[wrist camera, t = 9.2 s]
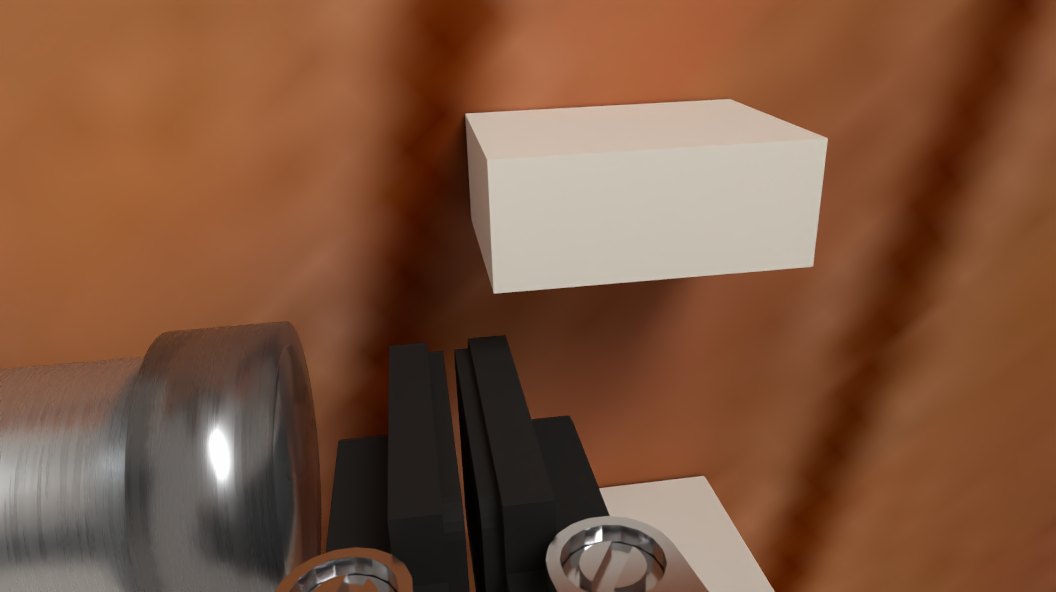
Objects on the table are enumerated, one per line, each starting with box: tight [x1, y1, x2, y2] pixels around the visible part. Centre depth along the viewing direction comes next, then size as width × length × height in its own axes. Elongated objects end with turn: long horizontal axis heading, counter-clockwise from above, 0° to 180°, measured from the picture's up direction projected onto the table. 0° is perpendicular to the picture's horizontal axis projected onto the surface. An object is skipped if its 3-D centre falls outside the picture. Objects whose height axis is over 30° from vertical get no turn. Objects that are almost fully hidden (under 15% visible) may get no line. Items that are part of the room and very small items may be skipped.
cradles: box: [465, 99, 828, 592], centre depth 11 cm, size 20×8×4 cm, turn 92°
